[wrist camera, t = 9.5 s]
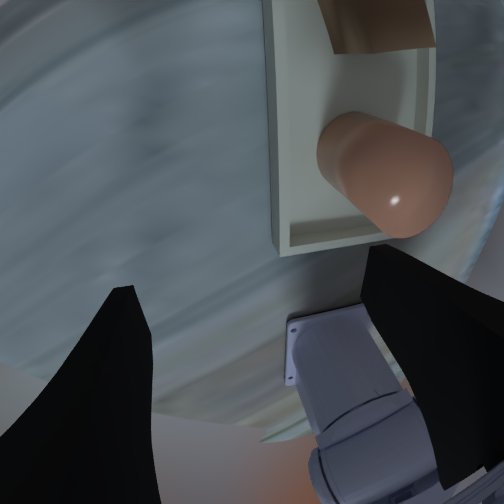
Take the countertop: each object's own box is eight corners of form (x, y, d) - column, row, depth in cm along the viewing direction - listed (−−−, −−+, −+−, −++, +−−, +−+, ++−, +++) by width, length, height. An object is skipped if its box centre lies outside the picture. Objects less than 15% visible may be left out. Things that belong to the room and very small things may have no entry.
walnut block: (391, 45, 14) (436, 47, 11) (334, 54, 14) (373, 53, 11) (373, -14, 12) (416, -25, 8) (313, -10, 12) (348, -27, 8)
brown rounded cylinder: (385, 185, 19) (443, 229, 14) (316, 195, 18) (365, 246, 14) (389, 111, 16) (458, 136, 11) (314, 112, 16) (373, 137, 11)
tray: (401, 222, 22) (415, 234, 20) (272, 242, 20) (279, 257, 19) (414, -8, 12) (432, -10, 11) (259, -36, 11) (268, -47, 9)
